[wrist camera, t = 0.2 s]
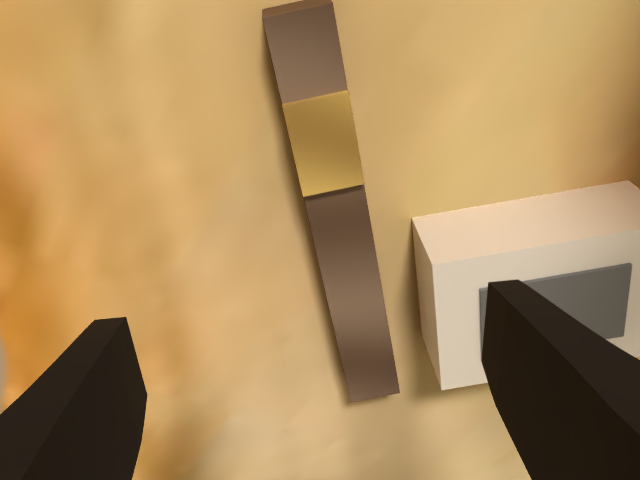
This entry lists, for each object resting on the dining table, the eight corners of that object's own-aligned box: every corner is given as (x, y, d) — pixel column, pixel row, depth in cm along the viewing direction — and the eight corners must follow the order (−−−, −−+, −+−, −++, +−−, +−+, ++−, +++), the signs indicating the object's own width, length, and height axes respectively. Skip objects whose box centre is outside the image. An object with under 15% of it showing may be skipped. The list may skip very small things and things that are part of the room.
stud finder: (612, 297, 25) (661, 355, 22) (420, 330, 25) (442, 393, 22) (625, 177, 22) (683, 224, 19) (410, 214, 23) (433, 267, 19)
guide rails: (701, 306, 25) (729, 333, 24) (346, 377, 26) (352, 408, 24) (762, -100, 18) (809, -99, 16) (262, 9, 18) (262, 20, 17)
